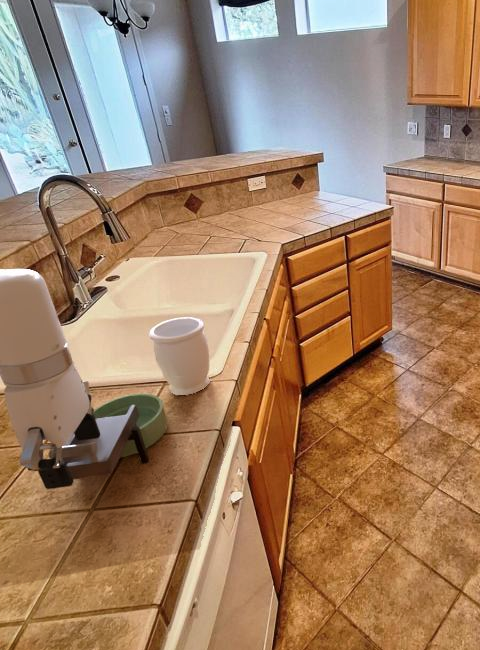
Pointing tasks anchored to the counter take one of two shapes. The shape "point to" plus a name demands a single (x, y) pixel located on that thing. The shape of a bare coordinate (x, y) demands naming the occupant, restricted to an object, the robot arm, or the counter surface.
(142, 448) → the bracket
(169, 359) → the jar
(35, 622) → the counter surface
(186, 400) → the counter surface
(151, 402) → the bowl
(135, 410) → the scoop
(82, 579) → the counter surface
